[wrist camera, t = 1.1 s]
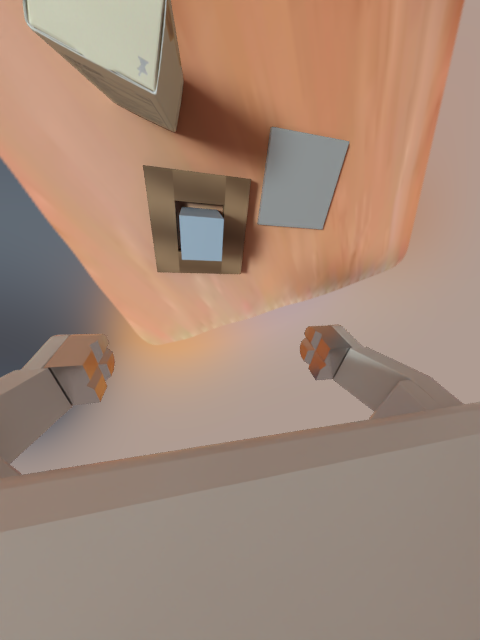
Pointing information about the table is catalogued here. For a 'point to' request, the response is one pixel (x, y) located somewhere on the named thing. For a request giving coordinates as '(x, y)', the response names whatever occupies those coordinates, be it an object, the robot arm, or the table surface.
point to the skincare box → (118, 50)
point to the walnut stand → (200, 189)
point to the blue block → (201, 234)
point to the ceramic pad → (299, 178)
